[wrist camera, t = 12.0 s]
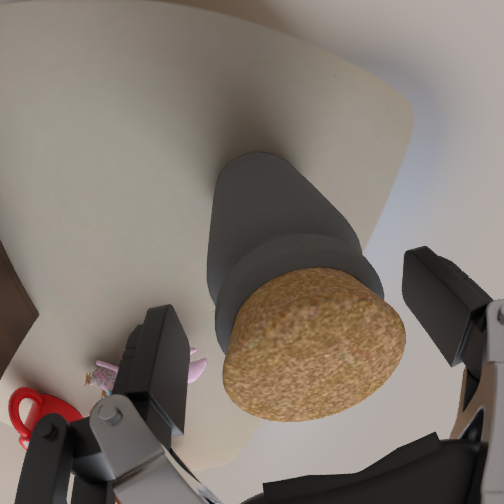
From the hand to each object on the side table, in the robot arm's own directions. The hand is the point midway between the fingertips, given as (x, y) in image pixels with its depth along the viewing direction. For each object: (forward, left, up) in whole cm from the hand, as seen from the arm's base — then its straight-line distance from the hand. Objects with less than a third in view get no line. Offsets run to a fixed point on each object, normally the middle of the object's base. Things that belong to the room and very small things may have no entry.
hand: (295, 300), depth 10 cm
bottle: (0, 0, -12) cm, 12 cm away
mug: (+20, -33, -12) cm, 40 cm away
